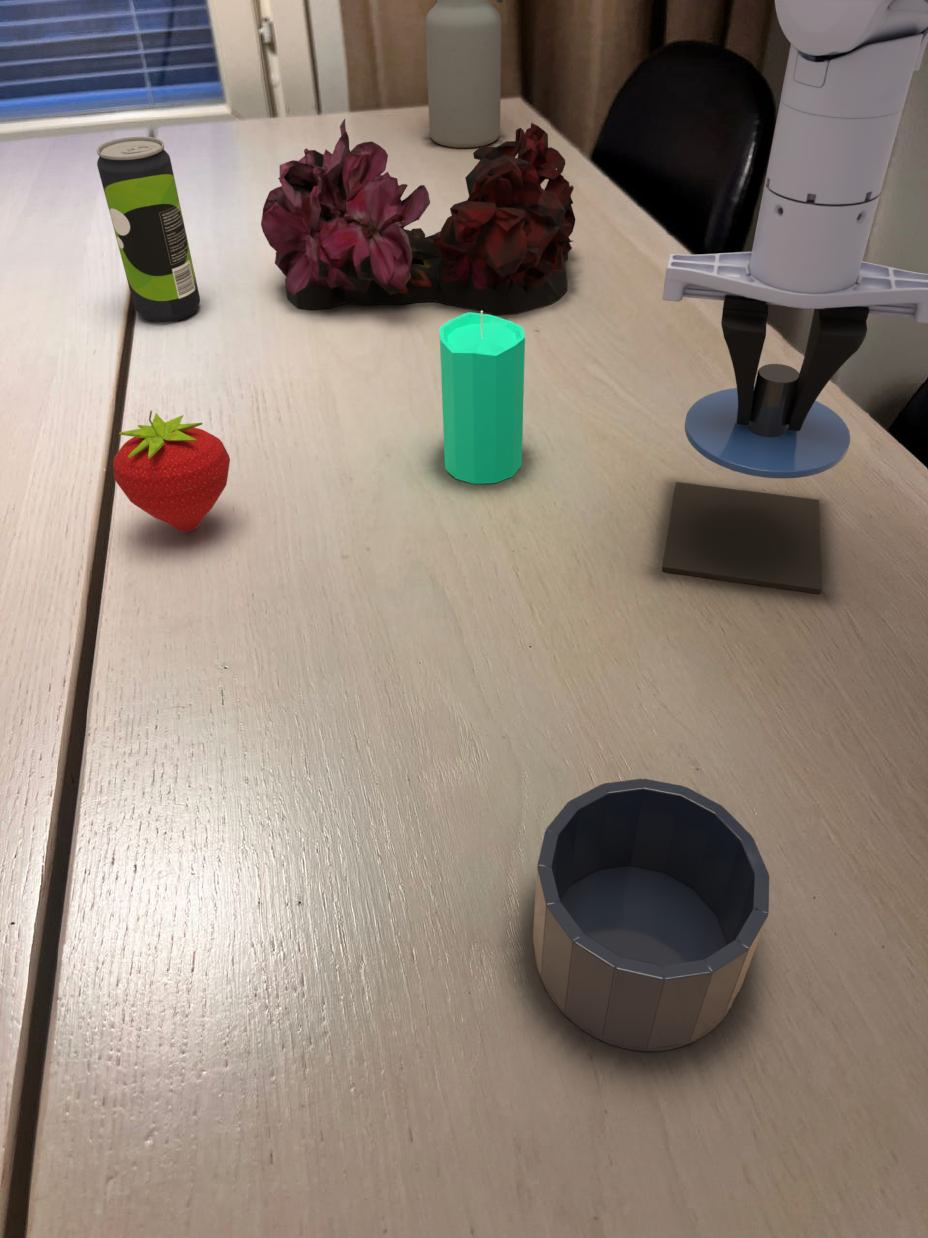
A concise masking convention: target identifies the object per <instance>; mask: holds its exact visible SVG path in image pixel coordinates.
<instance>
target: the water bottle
mask: <svg viewBox="0 0 928 1238" xmlns="http://www.w3.org/2000/svg"><path fill="white" fill-rule="evenodd" d="M495 1H496V3H498V4H500V3H503V2H504V1H503V0H495ZM425 53H426V75H427V76H426V77H427V78H426V79H427V101H428V102H427V103H428V126H429V135H430V137H431V139H432V140H433V142H435V143H436V144H439V146H440V145H441V146H443V147H448V148H457V149H471V148H480V147H481V146H488V145H490V144H492V143H494V142H495V141H496V140H498V138H499V136H500V135H501V91H502V90H501V86H502V85H501V84H502V83H501V75H502V71H501V70H502V65H501V64H502V18H501V14H500V12H499V10H497V8H496V7H495V6H494V5H492V4H491V2H490V0H436V3H435V5H434V6H433V7H431V8H430V9H429V11H428V13H427V15H426V16H425Z"/></svg>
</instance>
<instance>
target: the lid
mask: <svg viewBox="0 0 928 1238" xmlns="http://www.w3.org/2000/svg"><path fill="white" fill-rule="evenodd" d="M799 373H800V371H798V370H797V369H795V368H794V367H792V366H789V365H786V364H782V363H769V364H768V363H767V364H764V365H762V366H760V367H759V368H758V370H757V374H756V378H755V384H754V393H753V402H752V411H751V416H750V421H749V425H739V424H737V411H738V394H737V387H733V388H732V387H731V388H726V389H722V390H718V391H714V392H712V393H709V394H707V395H704V396H703V397H701V398H700V399H698V400H697V401H695V402H694V403H693V404H692V405H691V406H690V408H689V409H688V411H687V412H686V416H685V419H684V433H685V436H686V438H687V441H688V442H689V444H690V445H691V446H692V447H693V448H694V449H695V450H696V451H697V452H698V453H699V454H700V455H701V456H702V457H703V458H706V459H707V460H709V461H710V462H711V463H714V464H716V465H718V466H720V467H722V468H725V469H728V470H730V471H733V472H736V473H740V474H743V475H744V474H745V475H749V476H752V477H757V478H758V477H759V478H766V479H786V480H787V479H799V478H806V477H811V476H814V475H818V474H821V473H824V472H826V471H829V470H830V469H833V468H834V467H836V466H837V465H838V464H840V462H841V461H842V460H844V458H845V457H846V455H847V454H848V450H849V447H850V444H851V434H850V430H849V427H848V425H847V423H846V422H845V421H844V419H842V417H841V416H840V415H839V414H838V413H837V412H835V411H834V410H832V409H831V408H830V407H828V406H826V405H825V404H823V403H821V402H820V401H817V400H815V402H814V404H813V405H812V407H811V409H810V411H809V412H808V414H807V416H806V418H805V420H804V423H803V425H802V427H801V430H800V431H793V430H788V423H789V419H790V415H791V411H792V407H793V403H794V399H795V395H796V391H797V387H798V383H799V379H800V374H799Z"/></svg>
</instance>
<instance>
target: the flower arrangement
mask: <svg viewBox="0 0 928 1238" xmlns="http://www.w3.org/2000/svg"><path fill="white" fill-rule="evenodd" d="M339 130H340V135H341V136H340V137H339V138H338V140H337V142H336V143H335V146H334V149H333V152H332V153H331V151H329V150H328V149H324V150H325V151H324V152H323V153H321V152H319V151H317V150H316V149H308V148H307V147H306V148H304V149H303V153H304V155H303V156H302V157H301V158H300V159H299V160H296V159H295V160H294V159H293V160H289V161H286V162H283V163H281V164H279V177H278V180H279V183H280V185H281V186H280V185H279V186H277V187H275V188H273V189H271V190H270V191H269V192H268V195H267V197H266V198H265V202H264V204H263V207H262V214H261V220H260V227H261V230H262V233H263V235H264V237H265V239H266V241H267V243H268V245H269V246H270V247H271V248H272V249H273V250H274V251H275V259H274V265H275V266H276V267H277V268H278V269H279V270H280V272H282V274H283V275H284V276H285V278H284V286H285V287H284V288H285V292H286V298H287V299H288V300H289V302H291V303H292V304H293V305H294V306H295V307H296V308H298V309H305V310H324V309H325V310H326V309H327V310H328V309H331V308H334V307H336V306H340V305H343V304H348V305H357V306H359V305H360V306H373V305H374V306H376V305H390V304H393V305H395V304H396V305H404V304H405V305H406V304H414V303H427V302H428V303H429V302H437V303H440V304H445V305H449V306H454V307H459V308H466V309H470V310H474V311H478V312H481V311H483V313H485V314H489V315H493V316H497V315H498V316H499V315H502V316H503V315H517V314H520V313H523V312H524V313H525V312H528V311H531V310H535V309H539V308H542V307H547V306H550V305H552V304H553V303H555V302H557V301H559V300H561V299H562V297H564V295H565V294H566V292H567V291H568V276H567V269H566V264H565V262H566V261H567V260H568V259H569V252H570V251H571V250H572V249H573V247H572V245H571V243H572V242H574V240H571V239H570V236H571V235H572V234H573V233H574V229H575V226H576V225H575V224H576V215H575V213H574V209H573V204H574V201H573V199H572V194H573V192H574V189H575V187H574V186H573V184H572V185H570V182H569V181H568V180H567V179H566V178H565V177H564V175H562V174H563V172H564V169H565V166H566V164H567V163H566V159H565V157H564V156H563V155H562V154H561V153H560V151H559V150H558V149H556V148H554V147H549V134H548V132H546V130H544V129H543V128H542V127H540V126H539V125H537V124H536V123H533V122H531V123H530V127H529V128H526V130H525V132H524V129H523V128H522V127H519V128H517V129H515V140H506V141H504V142H502V143H500V144H499V145H496V146H489V145H484V146H480V147H477V149H476V150H474V151H473V153H472V155H473V159H474V160H478V162H477V163H476V165H475V166H474V167H473V168H472V170H470V172H469V173H468V174H467V175H466V176H465V177H464V178H465V179H464V180H465V183H466V189H467V193H468V198H467V199H466V200H463V201H460V202H457V203H454V204H453V205H452V206H451V207H450V208H449V211H450V216H448V217H447V218H446V219H445V221H444V224H442V227H441V228H440V231H437V232H435V233H434V234H431V235H427V236H426V233H425V232H424V230H423V229H422V228H421V227H418V228H412V229H406V228H405V227H407V226H409V225H411V224H412V223H414V222H417V221H419V220H420V219H421V217H422V216H423V215H424V213H425V211H426V210H427V209H428V208H429V206H430V205H431V199H430V193H429V191H428V189H427V187H426V185H425V184H420V185H419V186H417V188H415V189H414V190H413V191H412V192H411V193H410V194H409V195H408V196H407V197H405V198H403V200H402V196H403V195H404V193H405V192H406V189H407V187H409V186H408V183H407V184H406V183H401V184H399V181H398V178H397V177H394V176H391V174H390V173H389V171H386V169H387V164H388V158H389V155H388V153H387V151H386V149H385V148H383V147H382V146H380V145H379V144H378V143H376V142H374V141H364V142H361V143H358V144H356V145H355V146H354V147H353V148H352V149H350V137H349V135H348V131H347V127H346V118H344V119H343V120H342V122H341V123H340V125H339ZM385 171H386V172H385ZM545 180H547V183H546V185H545V187H544V188H543V187H542V184H543V183H544V182H545Z"/></svg>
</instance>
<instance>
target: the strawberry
mask: <svg viewBox="0 0 928 1238" xmlns="http://www.w3.org/2000/svg"><path fill="white" fill-rule="evenodd" d="M152 413H153V410H150V411H149V416H148V422H149V424H150V425H146V424H138V425H137V428H135V429H131V430H130V429H129V430H124V431H120V432H118V435H119V436H125V437H131V438H130V439H128V440H127V441H126V442H124V443H123V444H122V446H121V447H120V449H119V450H117V452H116V453H115V455H114V457H113V460H112V464H113V465H112V466H113V477H114V481H115V482H116V484H117V486H118V487H119V488H120V489H121V491H122V492H123V494H124V495H125V496H126V498H127V500H128V501H129V502H130V503H132V504H133V505H134V506H136V507H137V508H138V509H140V510H142V511H143V512H145V513H146V514H148V515H150V516H151V517H153V519H157V520H158V521H160V522H163V523H164V524H165V523H166V524H168V525H169V526H171V527H173V528H174V529H175V530H177V531H180V532H184V533H185V532H186V533H187V532H192V531H194V530H196V529H198V527H199V526H200V525H201V522H202V521H203V519H204V518H205V517H206V516H207V515H208V513H210V511H211V510H212V509H213V508H214V506H215V504H216V503H217V501H218V500H219V498H220V497H221V495H222V493H223V492H224V490H225V488H226V487H227V484H228V478H229V471H230V464H231V463H230V462H231V458H230V455H229V452H228V451H227V449H226V447H225V445H224V443H223V442H222V440H221V439H220V438H219V437H217V436H216V435H214V434H212V433H210V432H208V431H206V430H204V429H203V428H199V427H200V426H202V425H203V422H190V423H189V422H188V423H181V422H182V419H183V417H184V414H182V415H180V416H177V417H174V418H172V419H170V420H167V421H165V420H163V418H161V416H159V414H158V413H157V412H155V414H154V416H153V420H152V415H153V414H152Z"/></svg>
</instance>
